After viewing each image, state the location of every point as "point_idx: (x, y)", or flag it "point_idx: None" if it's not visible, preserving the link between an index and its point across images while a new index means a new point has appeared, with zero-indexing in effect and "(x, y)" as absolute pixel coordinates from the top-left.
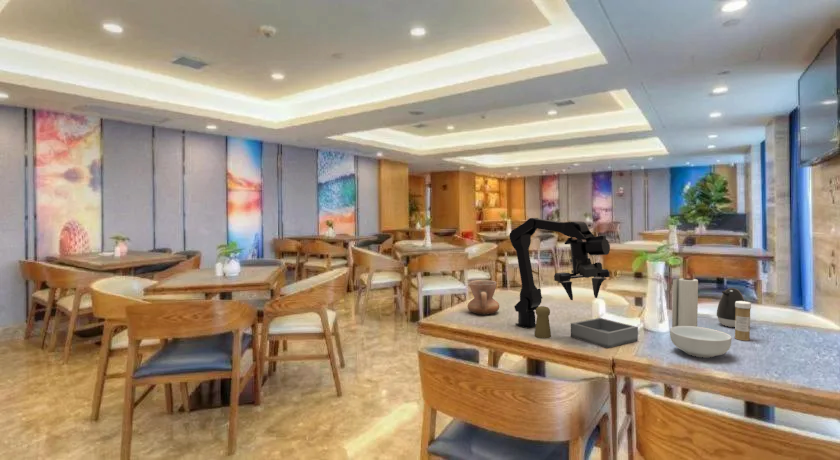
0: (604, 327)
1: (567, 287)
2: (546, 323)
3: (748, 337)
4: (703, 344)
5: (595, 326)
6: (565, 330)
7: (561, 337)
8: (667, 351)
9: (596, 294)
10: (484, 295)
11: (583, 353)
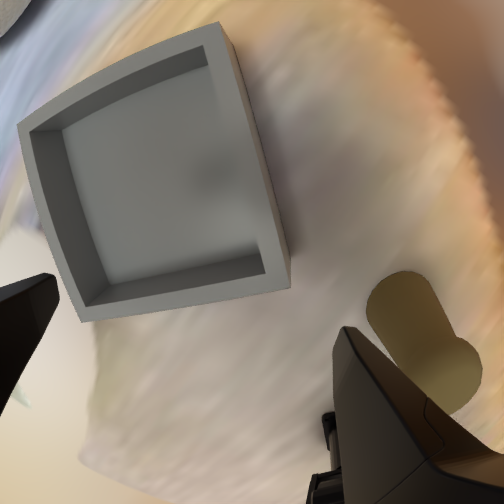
0: (95, 269)
1: (479, 443)
2: (428, 312)
3: None
4: None
5: (128, 287)
6: (249, 346)
7: (339, 262)
8: (60, 3)
9: (29, 286)
10: None
11: (387, 27)
